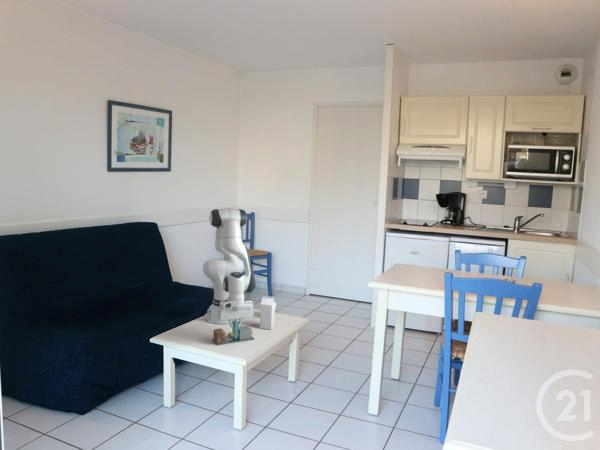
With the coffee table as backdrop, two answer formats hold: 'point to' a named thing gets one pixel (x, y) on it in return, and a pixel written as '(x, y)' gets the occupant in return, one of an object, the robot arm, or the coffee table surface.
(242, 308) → the robot arm
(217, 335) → the socket
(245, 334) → the grey base plate
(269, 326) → the milk carton
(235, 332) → the rod
